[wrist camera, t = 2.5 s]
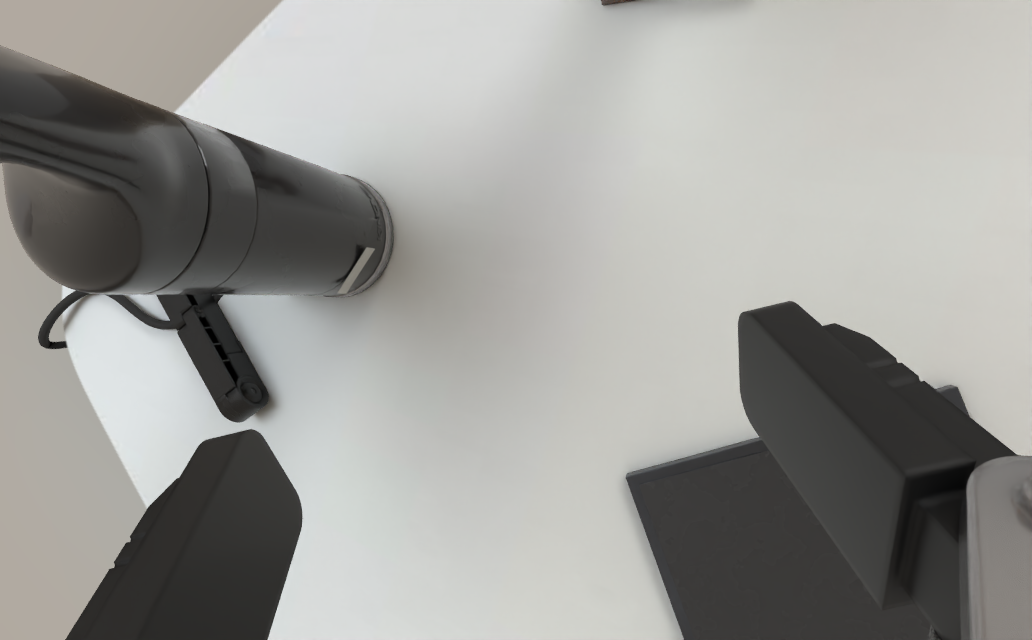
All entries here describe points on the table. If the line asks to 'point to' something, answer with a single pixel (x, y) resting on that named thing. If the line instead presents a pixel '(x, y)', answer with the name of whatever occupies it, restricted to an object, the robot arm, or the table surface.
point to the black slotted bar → (216, 355)
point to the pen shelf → (613, 1)
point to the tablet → (756, 553)
